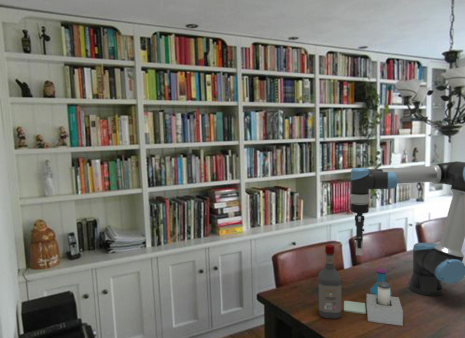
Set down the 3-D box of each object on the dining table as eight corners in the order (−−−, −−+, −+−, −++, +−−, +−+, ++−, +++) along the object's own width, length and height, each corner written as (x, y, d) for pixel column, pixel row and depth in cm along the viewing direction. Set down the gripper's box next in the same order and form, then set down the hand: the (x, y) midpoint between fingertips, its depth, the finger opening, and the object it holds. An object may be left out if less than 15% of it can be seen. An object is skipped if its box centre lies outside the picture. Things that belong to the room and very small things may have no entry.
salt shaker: (389, 309, 150) (390, 282, 149) (391, 315, 146) (391, 287, 144) (376, 307, 152) (377, 280, 151) (377, 313, 147) (378, 285, 146)
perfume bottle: (389, 307, 156) (390, 274, 155) (368, 302, 161) (368, 271, 159) (392, 299, 164) (393, 268, 162) (372, 294, 169) (372, 264, 167)
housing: (398, 310, 153) (398, 297, 153) (402, 325, 141) (402, 311, 140) (366, 306, 157) (366, 293, 157) (367, 321, 145) (368, 307, 144)
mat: (365, 304, 159) (365, 303, 159) (365, 314, 151) (365, 312, 151) (344, 301, 162) (344, 300, 162) (344, 311, 154) (344, 309, 154)
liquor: (341, 319, 147) (342, 249, 144) (319, 318, 148) (319, 248, 145) (339, 309, 156) (339, 243, 153) (317, 307, 157) (318, 242, 154)
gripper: (351, 198, 168) (351, 241, 169) (349, 208, 144) (349, 258, 146) (368, 198, 165) (368, 242, 167) (369, 209, 142) (368, 260, 144)
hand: (359, 250), depth 157 cm, fingers open, 13 cm apart
